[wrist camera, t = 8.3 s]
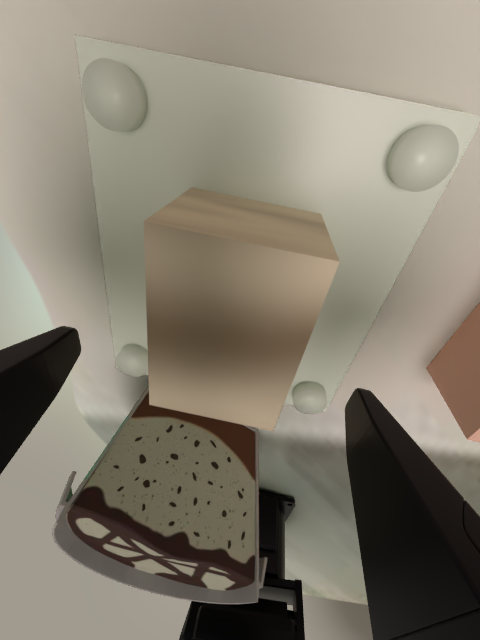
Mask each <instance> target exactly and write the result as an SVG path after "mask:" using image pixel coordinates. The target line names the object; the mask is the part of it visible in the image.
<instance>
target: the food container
mask: <svg viewBox="0 0 480 640" xmlns="http://www.w3.org/2000/svg"><path fill="white" fill-rule="evenodd" d="M75 474H76V472H75V471H73V472H72V474H71V475H70V477H69V479H68V482H67V484H66V487H65V489H64V492H63V495H62V497H61V500H60V502H59V505H58V507H57V510H56V523H55V525H54V527H53V531H52V536H53V539H54V541H55V543H56V544H57V546H58V547H59V548H60V549H61V550H62V551H63V552H64V553H65V554H66V555H68V556H69V557H70V558H72V559H73V560H74V561H76V562H78V563H79V564H81V565H83V566H84V567H86V568H88V569H90V570H92V571H94V572H96V573H98V574H100V575H103V576H105V577H107V578H109V579H112V580H115V581H117V582H120V583H123V584H125V585H128V586H131V587H134V588H138V589H141V590H144V591H148V592H151V593H156V594H160V595H164V596H168V597H174V598H178V599H184V600H190V601H196V602H204V603H215V604H248V603H257V602H258V597H259V588H263V582H264V576H265V571H266V565H267V559H268V558H266V557H263V558H259V452H258V430H257V429H256V428H254V427H251V426H246V425H242V424H237V423H232V422H228V421H223V420H218V419H214V418H209V417H204V416H200V415H195V414H190V413H186V412H181V411H176V410H172V409H167V408H162V407H158V406H153V405H149V385H148V387H147V388H146V390H145V391H144V393H143V394H142V396H141V397H140V399H139V400H138V401H137V403H136V404H135V406H134V407H133V409H132V410H131V412H130V413H129V415H128V416H127V418H126V419H125V420H124V422H123V423H122V425H121V426H120V428H119V429H118V431H117V432H116V434H115V435H114V436H113V438H112V439H111V441H110V442H109V444H108V445H107V447H106V448H105V450H104V451H103V452H102V454H101V456H100V457H99V458H98V460H97V461H96V463H95V464H94V466H93V467H92V468H91V470H90V471H89V473H88V474H87V476H86V477H85V479H84V480H83V482H82V483H81V484H80V486H79V487H78V489H77V490H76V492H75V493H74V495H73V494H72V489H71V485H72V482H73V480H74V477H75Z"/></svg>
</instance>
